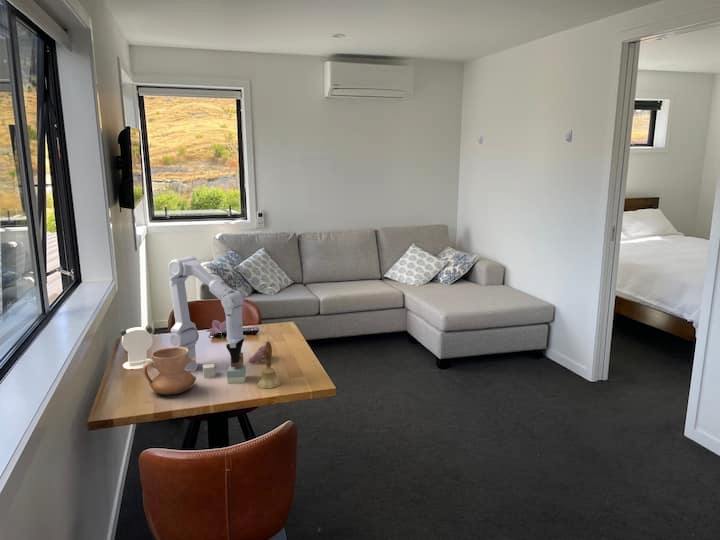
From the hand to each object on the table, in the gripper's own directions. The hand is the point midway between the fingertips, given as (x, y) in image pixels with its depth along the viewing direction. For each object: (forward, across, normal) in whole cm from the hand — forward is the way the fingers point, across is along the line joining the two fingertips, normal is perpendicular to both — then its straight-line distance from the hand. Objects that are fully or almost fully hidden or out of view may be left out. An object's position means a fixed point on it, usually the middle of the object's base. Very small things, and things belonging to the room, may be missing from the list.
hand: (236, 360), depth 198 cm
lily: (+8, +50, +14) cm, 53 cm away
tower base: (+8, 0, 0) cm, 8 cm away
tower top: (+5, 0, 0) cm, 5 cm away
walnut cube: (+2, 0, 0) cm, 2 cm away
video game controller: (+8, +19, -7) cm, 22 cm away
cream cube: (+8, +5, +11) cm, 14 cm away
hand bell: (+8, -6, -12) cm, 15 cm away
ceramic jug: (+8, -7, +22) cm, 24 cm away
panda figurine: (+8, +21, +41) cm, 47 cm away
